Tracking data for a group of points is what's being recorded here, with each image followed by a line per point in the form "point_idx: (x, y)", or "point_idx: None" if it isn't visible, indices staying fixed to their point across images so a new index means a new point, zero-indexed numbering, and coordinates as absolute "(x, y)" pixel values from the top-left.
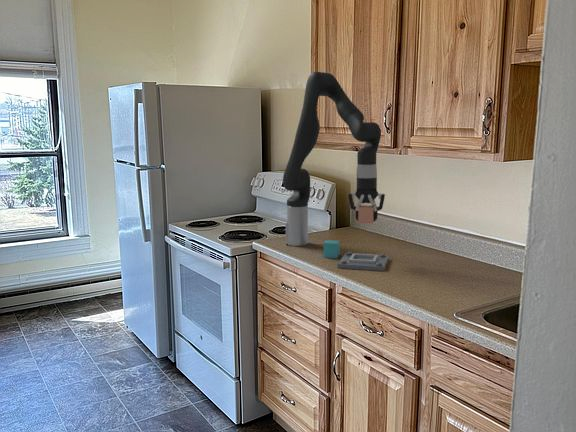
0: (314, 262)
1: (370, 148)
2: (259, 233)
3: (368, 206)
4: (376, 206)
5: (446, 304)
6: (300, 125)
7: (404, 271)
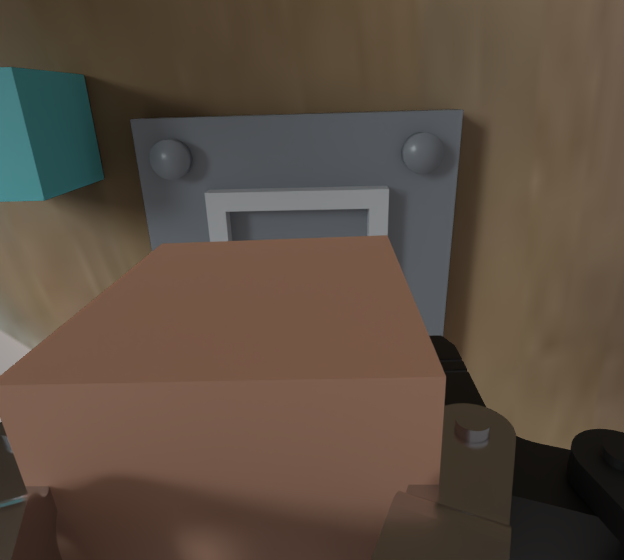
0: (17, 300)
1: None
2: None
3: (286, 546)
4: (505, 508)
5: None
6: None
7: (544, 347)
